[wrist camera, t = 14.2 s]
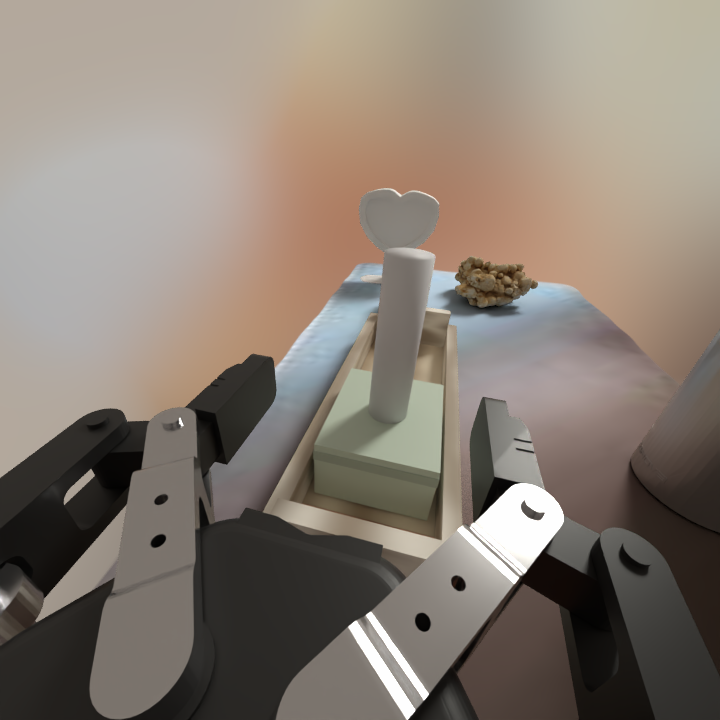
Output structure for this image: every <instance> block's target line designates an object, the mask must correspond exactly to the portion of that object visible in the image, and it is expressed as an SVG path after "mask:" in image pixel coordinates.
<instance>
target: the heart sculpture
mask: <svg viewBox="0 0 720 720" xmlns="http://www.w3.org/2000/svg"><path fill="white" fill-rule="evenodd" d="M359 214H360V224H361V226H362V227H363V230H364V232H365V234H366V236H367V237H368V238H369V239H370V240H371V241H372V242H373V243H374V245H375V246H376V247H378V248H379V249H380V250H382V251H383V252H384V253H385V250H387V249H390V248H414V249H415V248H417V247H418V246H420V245H421V244H423V243H424V242H425V241H426V240H427V239H428V237H429V236H430V235H431V234H432V233H433V231H434V229H435V226H436V223H437V220H438V217H439V203H438V202H437V200H436V199H435V198H434V197H432V196H430V195H428V194H426V193H423V192H420V191H409V192H407V193H405V194H404V195H400V194H399V193H398V192H397V191H396V190H393V189H390V188H383V189H377V190H374V191H371V192H368V193H366V194H365V195H364V196H363V197H362V198H361V202H360V206H359ZM361 280H362V281H363V282H370V283H378V284H381V282H382V276H376V275H365V276H362V277H361Z"/></svg>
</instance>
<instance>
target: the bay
mask: <svg viewBox="0 0 720 720" xmlns="http://www.w3.org/2000/svg"><path fill="white" fill-rule="evenodd" d="M378 311H379V309H378ZM450 314H451V311H447V310H440V309H434V308H427V307H426V312H425V317H424V323H423V328H422V334H421V339H420V345H419V350H418V356H417V361H416V367H415V372H414V378H413V380H419V381H424V382H429V383H435V384H440V385H444V387H443V415H442V442H441V470H440V476H439V483H438V487H437V488H436V490H435V494H434V497H433V501H432V504H431V508H430V511H429V515H428V519H427V521H425V520H421V519H418V518H414V517H410V516H406V515H402V514H398V513H394V512H390V511H386V510H382V509H378V508H374V507H370V506H366V505H362V504H358V503H354V502H350V501H346V500H343V499H339V498H335V497H331V496H327V495H323V494H319V493H315V492H314V459H313V451H314V444H315V442H316V440H317V438H318V435H319V433H320V431H321V429H322V427H323V425H324V423H325V421H326V419H327V417H328V415H329V413H330V411H331V409H332V407H333V405H334V403H335V401H336V399H337V397H338V395H339V393H340V391H341V389H342V387H343V385H344V382H345V380H346V378H347V376H348V374H349V372H350V370H351V368H354V369H359V370H365V371H370V372H372V369H373V360H374V350H375V340H376V331H377V321H378V314H377V313H371V314H370V315H369V317H368V319H367V321H366V323H365V325H364V326H363V328H362V330H361V332H360V334H359V336H358V337H357V339H356V341H355V343H354V345H353V347H352V349H351V350H350V352H349V354H348V356H347V358H346V360H345V361H344V363H343V365H342V367H341V369H340V371H339V372H338V374H337V376H336V378H335V380H334V382H333V384H332V385H331V387H330V389H329V391H328V393H327V395H326V396H325V398H324V400H323V402H322V404H321V406H320V407H319V409H318V411H317V413H316V415H315V417H314V419H313V420H312V422H311V424H310V426H309V428H308V430H307V431H306V433H305V435H304V437H303V439H302V441H301V442H300V444H299V446H298V448H297V450H296V452H295V454H294V455H293V457H292V459H291V461H290V463H289V465H288V466H287V468H286V470H285V472H284V474H283V476H282V477H281V479H280V481H279V483H278V485H277V487H276V489H275V490H274V492H273V494H272V496H271V498H270V500H269V501H268V503H267V505H266V507H265V509H264V511H263V512H264V513H267V514H271V515H275V516H278V517H280V518H281V519H283V520H285V521H286V522H288V523H289V524H291V525H293V526H294V527H296V528H298V529H299V530H301V531H303V532H304V533H306V534H309V535H348V536H352V537H355V538H359V539H363V540H366V541H370V542H374V543H377V544H381V545H383V549H382V555H381V557H383V558H384V559H386V560H388V561H389V562H390V563H392V564H393V565H394V566H396V567H397V568H398V569H399V570H400V571H401V572H402V573H403V574H404V575H405V576H406V578H407V577H408V576H409V575H410V574H411V573H412V572H413V571H414V570H415V569H417V568H418V567H419V566H420V565H421V564H422V563H423V562H424V561H425V560H426V559H427V558H428V557H429V556H430V555H431V554H432V553H433V552H435V551H436V550H437V549H438V548H439V547H440V546H441V545H442V544H443V543H444V542H445V541H446V540H447V539H448V538H449V537H450V536H451V535H453V534H454V533H455V532H456V531H457V530H458V529H459V528H460V527H461V526H462V498H461V464H460V430H459V397H458V363H457V329H456V326H454V325H448V323H449V319H450Z"/></svg>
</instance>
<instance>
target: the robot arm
mask: <svg viewBox="0 0 720 720" xmlns="http://www.w3.org/2000/svg"><path fill="white" fill-rule="evenodd" d="M275 396H276V380H275V369H274V361H273V358H272V357H268V356H262V355H256V354H252V355H250V356H249V357H248V358H247V359H246V360H245V361H244V362H243V363H242V364H236V365H234V366H232V367H230V368H228V369H226V370H225V371H224V372H223V373H222V374H221V375H219V377H218V378H217V379H215V380H214V381H213V382H212V383H211V384H210V386H208V387H207V388H205V389H204V390H203V391H202V392H201V393H200V394H199V395H198V396H197V397H196V398H195V399H193V400H192V401H191V402H190V403H189V404H188V405H187V406H186V407H185V408H172V409H168V410H165V411H163V412H161V413H159V414H157V415H156V416H154V418H152V419H151V420H150V421H132V422H127V420H126V417H125V415H124V413H123V412H122V411H121V410H118V409H102V410H98V411H94V412H92V413H89V414H87V415H85V416H83V417H82V418H80V419H79V420H77V421H76V422H75V423H73V424H72V425H71V426H69V427H68V428H67V429H65V430H64V431H63V432H61V433H60V434H59V435H57V436H56V437H55V438H53V439H52V440H51V441H49V442H48V443H47V444H45V445H44V446H43V447H41V448H40V449H39V450H37V451H36V452H35V453H33V454H32V455H31V456H29V457H28V458H27V459H25V460H24V461H23V462H21V463H20V464H19V465H17V466H16V467H15V468H13V469H12V470H11V471H9V472H8V473H6V474H5V475H4V476H2V477H1V478H0V720H479V719H478V717H477V715H476V712H475V710H474V708H473V706H472V704H471V702H470V700H469V698H468V696H467V694H466V692H465V690H464V688H463V686H462V684H461V682H460V680H459V678H458V676H457V674H458V672H459V671H460V670H461V668H462V667H463V666H464V664H465V663H466V662H467V660H468V659H469V658H470V656H471V655H472V654H473V652H474V651H475V650H476V648H477V647H478V645H479V644H480V643H481V641H482V640H483V638H484V637H485V635H486V634H487V632H488V631H489V630H490V628H491V627H492V626H493V624H494V623H495V621H496V620H497V619H498V618H499V616H500V615H501V614H502V612H503V611H504V610H505V608H506V607H507V606H508V604H509V603H510V602H511V600H512V599H513V598H514V596H515V595H516V594H517V592H518V591H519V590H520V588H521V587H522V586H523V584H525V585H527V586H529V587H530V588H532V589H534V590H535V591H537V592H539V593H540V594H542V595H544V596H545V597H547V598H549V599H550V600H552V601H554V602H555V603H557V604H559V607H560V613H561V618H562V624H563V630H564V635H565V641H566V647H567V653H568V658H569V664H570V670H571V675H572V681H573V687H574V692H575V698H576V704H577V709H578V715H579V720H720V676H719V673H718V671H717V669H716V667H715V665H714V663H713V661H712V658H711V656H710V654H709V652H708V650H707V648H706V645H705V643H704V641H703V639H702V637H701V635H700V632H699V630H698V628H697V626H696V624H695V622H694V619H693V617H692V615H691V613H690V611H689V609H688V607H687V604H686V602H685V600H684V598H683V596H682V594H681V591H680V589H679V587H678V585H677V583H676V581H675V578H674V576H673V574H672V572H671V570H670V568H669V566H668V564H667V562H666V560H665V559H664V557H663V556H662V555H661V554H660V552H659V551H658V550H657V549H656V548H655V547H654V546H653V545H651V544H650V543H649V542H648V541H646V540H645V539H644V538H642V537H640V536H639V535H637V534H635V533H633V532H631V531H628V530H625V529H621V528H608V529H606V530H604V531H603V532H602V534H601V535H600V534H598V533H596V532H594V531H592V530H590V529H588V528H586V527H584V526H582V525H580V524H578V523H576V522H574V521H572V520H570V519H569V518H567V517H566V516H564V515H563V513H562V510H561V508H560V506H559V505H558V503H557V502H556V501H555V499H554V498H553V497H551V496H550V495H549V494H548V493H547V492H545V489H544V485H543V481H542V478H541V474H540V470H539V466H538V463H537V459H536V455H535V454H534V448H533V444H532V440H531V437H530V433H529V430H528V428H527V427H526V426H525V425H524V423H523V422H522V421H521V420H520V418H515V417H510V416H509V413H508V408H507V404H506V401H503V400H497V399H492V398H486V397H483V398H482V400H481V402H480V406H479V409H478V412H477V415H476V418H475V421H474V424H473V428H472V431H471V437H470V461H471V481H472V501H473V521H474V524H472V525H471V526H468V525H467V524H465V525H463V526H461V527H460V528H459V529H458V530H457V531H456V532H455V533H454V534H453V535H451V536H450V537H449V538H448V539H447V540H446V541H445V542H444V543H443V544H442V545H441V546H440V547H439V548H438V549H437V550H436V551H435V552H433V553H432V554H431V555H430V556H429V557H428V558H427V559H426V560H425V561H424V562H423V563H422V564H421V565H420V566H419V567H418V568H417V569H415V570H414V571H413V572H412V573H411V574H410V575H409V576H408V577H407V578H406V576H405V575H404V574H403V573H402V572H401V571H400V570H399V569H398V568H397V567H396V566H394V565H393V564H392V563H390V562H389V561H388V560H386V559H384V558H383V557H381V555H382V549H383V545H381V544H377V543H374V542H370V541H366V540H363V539H359V538H355V537H352V536H348V535H309V534H306V533H304V532H303V531H301V530H299V529H298V528H296V527H294V526H293V525H291V524H289V523H288V522H286V521H285V520H283V519H281V518H280V517H278V516H275V515H271V514H267V513H264V512H260V511H256V510H253V509H249V508H245V510H244V511H243V513H242V515H241V516H240V518H235V519H227V520H223V521H218V522H215V517H214V506H213V492H212V478H211V470H210V467H211V466H212V464H213V463H214V462H218V463H222V464H226V465H227V464H228V463H229V461H230V460H231V459H232V457H233V456H234V455H235V453H236V452H237V451H238V449H239V448H240V447H241V445H242V444H243V443H244V441H245V440H246V439H247V437H248V436H249V434H250V433H251V432H252V430H253V429H254V428H255V426H256V425H257V424H258V422H259V421H260V420H261V418H262V417H263V416H264V414H265V413H266V412H267V410H268V409H269V408H270V406H271V405H272V403H273V402H274V399H275ZM631 465H632V468H633V471H634V473H635V475H636V476H637V478H638V479H639V480H640V482H641V483H642V484H643V485H644V486H645V487H646V488H647V489H648V490H649V492H650V493H652V494H653V495H654V496H655V497H656V498H657V499H659V500H660V501H661V502H662V503H664V504H665V505H666V506H668V507H669V508H671V509H672V510H674V511H675V512H677V513H678V514H680V515H682V516H684V517H685V518H687V519H689V520H691V521H693V522H695V523H697V524H699V525H701V526H703V527H706V528H708V529H711V530H713V531H716V532H719V533H720V330H719V331H718V333H717V334H716V336H715V337H714V338H713V340H712V341H711V343H710V344H709V346H708V347H707V349H706V350H705V352H704V353H703V354H702V356H701V357H700V359H699V360H698V361H697V363H696V364H695V366H694V367H693V369H692V370H691V371H690V373H689V374H688V376H687V377H686V379H685V380H684V382H683V383H682V384H681V386H680V387H679V389H678V390H677V392H676V393H675V394H674V396H673V397H672V399H671V400H670V402H669V403H668V404H667V406H666V407H665V409H664V410H663V412H662V413H661V415H660V416H659V417H658V419H657V420H656V422H655V423H654V424H653V426H652V427H651V429H650V430H649V432H648V433H647V435H646V436H645V437H644V439H643V440H642V442H641V443H640V445H639V446H638V447H637V449H636V450H635V452H634V453H633V455H632V458H631ZM90 469H92V471H93V472H94V474H95V477H94V478H93V479H91V480H90V481H89V482H88V483H87V484H86V485H85V486H84V487H83V488H82V489H81V490H80V491H79V492H78V493H77V494H76V495H75V496H74V497H73V498H71V499H70V501H68V502H67V503H66V504H65V505H64V497H65V495H66V493H67V491H68V490H69V489H70V487H71V486H73V485H74V484H75V483H76V482H77V481H78V480H79V479H80V478H81V477H82V476H84V474H86V473H87V472H88V471H89V470H90ZM126 504H127V507H126V513H125V519H124V526H123V532H122V538H121V544H120V550H119V556H118V562H117V568H116V574H115V578H113V579H112V580H110V581H108V582H106V583H105V584H103V585H101V586H99V587H98V588H96V589H94V590H92V591H91V592H89V593H87V594H85V595H84V596H82V597H80V598H79V599H77V600H75V601H73V602H72V603H70V604H68V605H66V606H65V607H63V608H61V609H60V610H58V611H56V612H54V613H53V614H51V615H49V616H47V617H45V618H44V619H42V620H40V621H39V622H37V623H36V621H35V620H36V618H37V617H38V615H39V613H40V611H41V609H42V607H43V602H44V598H45V597H46V596H47V595H48V594H49V592H50V591H51V590H52V589H53V588H54V587H55V586H56V584H57V583H58V582H59V581H60V580H61V579H62V578H63V576H64V575H65V574H66V573H67V572H68V571H69V570H70V568H71V567H72V566H73V565H74V564H75V563H76V561H77V560H78V559H79V558H80V557H81V556H82V555H83V554H84V552H85V551H86V550H87V549H88V548H89V547H90V545H91V544H92V543H93V542H94V541H95V540H96V539H97V538H98V536H99V535H100V534H101V533H102V532H103V531H104V530H105V528H106V527H107V526H108V525H109V524H110V523H111V522H112V520H113V519H114V518H115V517H116V516H117V515H118V514H119V512H120V511H121V510H122V509H123V508H124V507H125V506H126Z"/></svg>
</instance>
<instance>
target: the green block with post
mask: <svg viewBox="0 0 720 720" xmlns="http://www.w3.org/2000/svg"><path fill="white" fill-rule="evenodd" d="M434 262H435V255H434V254H433V253H430V252H428V251H424V250H420V249H414V248H390V249H387V250H385V253H384V263H383V273H382V282H381V292H380V302H379V311H378V321H377V331H376V340H375V350H374V360H373V369H372V372H370V371H365V370H359V369H354V368H351V370H350V372H349V374H348V376H347V378H346V380H345V382H344V385H343V387H342V389H341V391H340V393H339V395H338V397H337V399H336V401H335V403H334V405H333V407H332V409H331V411H330V413H329V415H328V417H327V419H326V421H325V423H324V425H323V427H322V429H321V431H320V433H319V435H318V438H317V440H316V442H315V444H314V451H313V459H314V492H315V493H319V494H323V495H327V496H331V497H335V498H339V499H343V500H346V501H350V502H354V503H358V504H362V505H366V506H370V507H374V508H378V509H382V510H386V511H390V512H394V513H398V514H402V515H406V516H410V517H414V518H418V519H421V520H425V521H427V519H428V515H429V511H430V508H431V504H432V501H433V497H434V494H435V490H436V488H437V487H438V483H439V476H440V470H441V442H442V415H443V387H444V385H440V384H435V383H429V382H424V381H419V380H413V378H414V372H415V367H416V361H417V356H418V350H419V345H420V339H421V334H422V328H423V323H424V317H425V312H426V306H427V301H428V295H429V290H430V284H431V279H432V273H433V268H434Z"/></svg>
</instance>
